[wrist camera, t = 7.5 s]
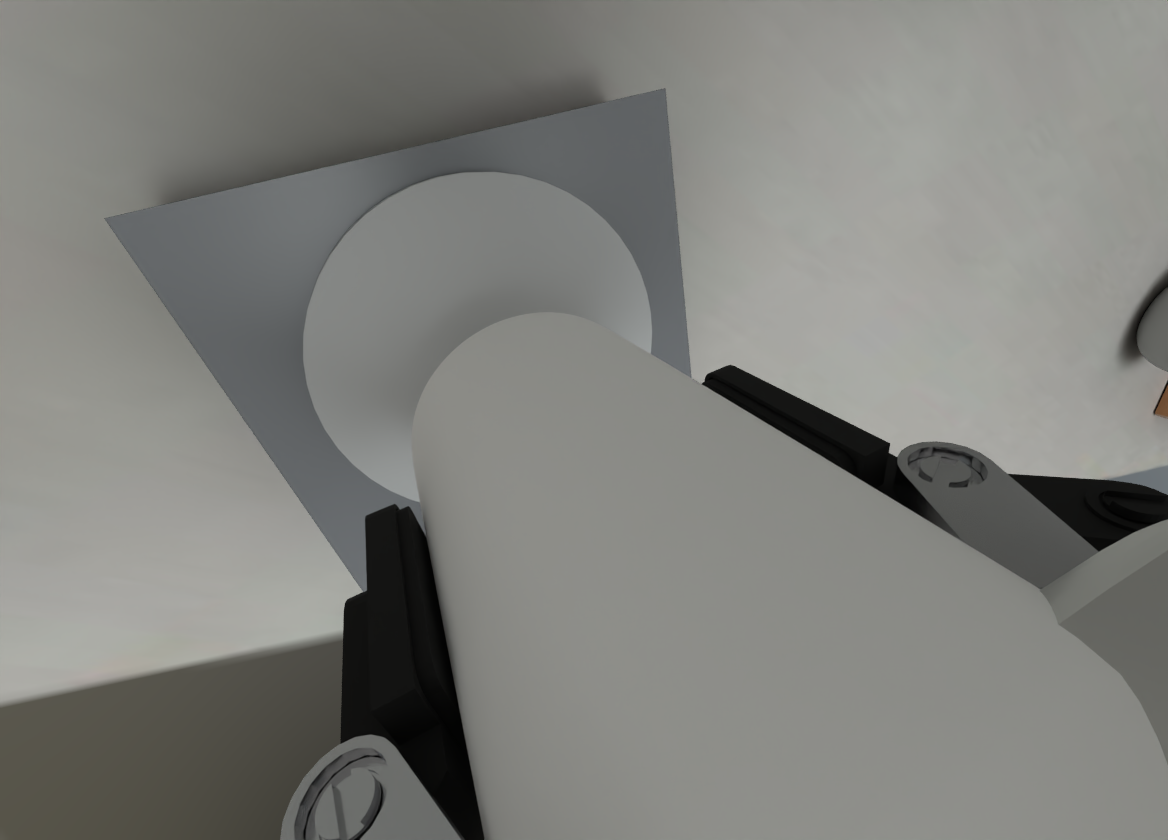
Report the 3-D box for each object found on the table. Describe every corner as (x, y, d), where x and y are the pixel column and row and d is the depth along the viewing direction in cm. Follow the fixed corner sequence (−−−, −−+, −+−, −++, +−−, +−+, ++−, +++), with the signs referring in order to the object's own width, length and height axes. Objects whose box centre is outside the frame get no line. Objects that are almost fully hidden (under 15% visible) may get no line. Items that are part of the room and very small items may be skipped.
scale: (162, 208, 14) (-279, 284, 4) (608, 104, 18) (919, 17, 8) (364, 530, 21) (369, 834, 11) (652, 409, 25) (845, 562, 15)
